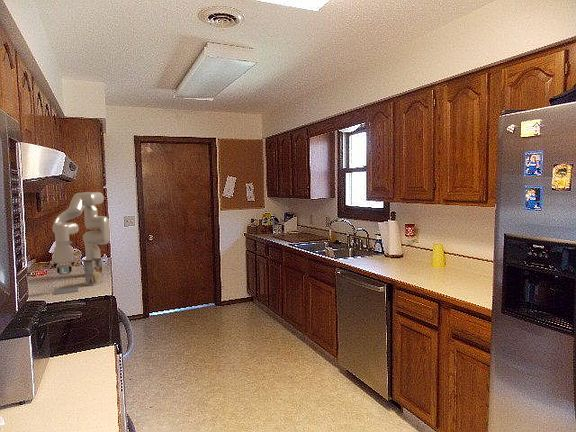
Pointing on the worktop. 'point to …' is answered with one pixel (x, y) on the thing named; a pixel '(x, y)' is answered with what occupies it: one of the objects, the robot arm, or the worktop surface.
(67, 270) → the letter cube
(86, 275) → the coffee box
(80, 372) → the worktop surface
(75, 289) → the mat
